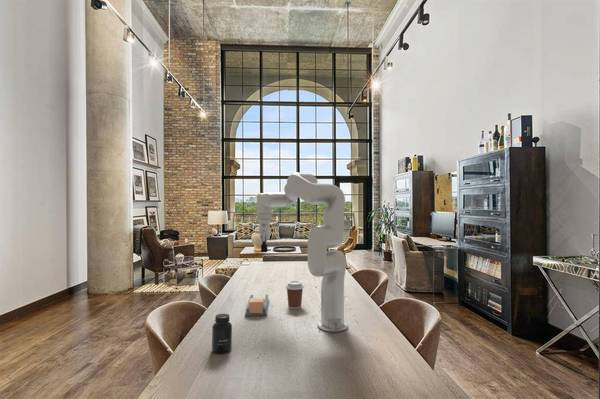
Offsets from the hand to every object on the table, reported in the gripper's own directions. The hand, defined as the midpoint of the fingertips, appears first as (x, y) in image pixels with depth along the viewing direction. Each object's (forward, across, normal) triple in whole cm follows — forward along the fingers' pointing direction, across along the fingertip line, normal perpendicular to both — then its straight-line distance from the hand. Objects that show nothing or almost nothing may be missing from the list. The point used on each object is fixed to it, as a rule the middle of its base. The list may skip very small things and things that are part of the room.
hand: (264, 251), depth 173 cm
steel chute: (+26, -12, +3) cm, 28 cm away
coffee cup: (+26, -10, -15) cm, 32 cm away
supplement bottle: (+26, -56, +13) cm, 63 cm away
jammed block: (+24, -19, +3) cm, 31 cm away
